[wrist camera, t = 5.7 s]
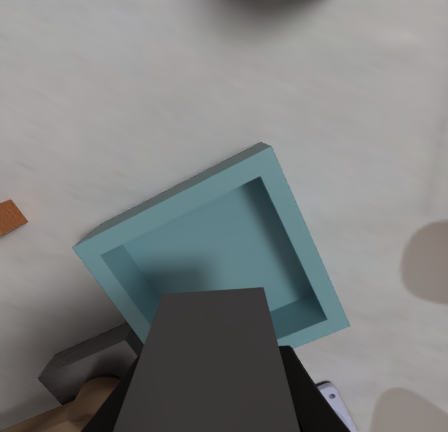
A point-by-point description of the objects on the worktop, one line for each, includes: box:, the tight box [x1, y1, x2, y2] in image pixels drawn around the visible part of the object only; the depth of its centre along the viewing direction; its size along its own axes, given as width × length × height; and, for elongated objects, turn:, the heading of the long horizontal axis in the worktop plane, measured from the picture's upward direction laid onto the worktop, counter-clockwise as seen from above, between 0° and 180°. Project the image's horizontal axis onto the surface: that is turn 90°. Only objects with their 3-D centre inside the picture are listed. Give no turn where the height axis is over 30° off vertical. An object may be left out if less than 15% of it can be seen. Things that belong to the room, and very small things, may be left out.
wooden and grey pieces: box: [0, 200, 144, 405], centre depth 18 cm, size 18×7×2 cm, turn 27°
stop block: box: [113, 287, 300, 432], centre depth 8 cm, size 4×4×7 cm
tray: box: [72, 142, 350, 348], centre depth 16 cm, size 11×11×4 cm
